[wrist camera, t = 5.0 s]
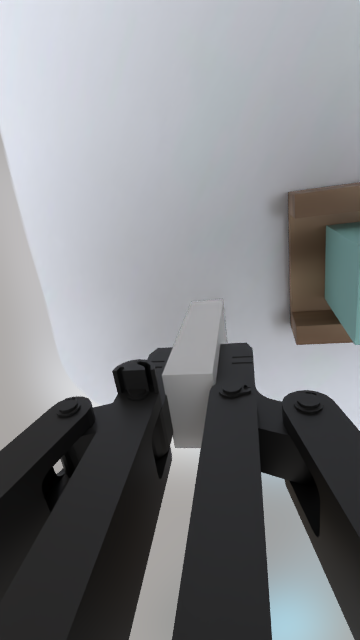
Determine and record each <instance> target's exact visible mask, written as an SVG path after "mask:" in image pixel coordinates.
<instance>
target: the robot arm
mask: <svg viewBox="0 0 360 640" xmlns="http://www.w3.org/2000/svg"><path fill="white" fill-rule="evenodd" d="M112 372H113V376H114V380H115V384H116V388H117V392H118V395H117V397H116V398H115V400H114V402H113V403H111V404H108V405H103V406H99V407H94V408H93V407H92V404H91V401H90V400H89V399H88V398H85V397H72V398H67V399H65V400H63V401H60V402H58V403H57V404H56V405H54V406H53V407H51V408H50V409H49V410H48V411H47V412H46V413H44V414H43V415H42V416H41V417H40V418H39V419H37V420H36V421H35V422H34V423H33V424H31V425H30V426H29V427H28V428H27V429H26V430H24V431H23V432H22V433H21V434H20V435H18V436H17V437H16V438H15V439H14V440H13V441H12V442H10V443H9V444H8V445H7V446H6V447H4V448H3V449H2V450H1V451H0V640H129V636H130V632H131V628H132V624H133V619H134V615H135V611H136V606H137V603H138V598H139V595H140V590H141V586H142V582H143V578H144V574H145V570H146V565H147V561H148V557H149V553H150V549H151V545H152V541H153V536H154V532H155V528H156V523H157V520H158V516H159V511H160V507H161V503H162V499H163V494H164V490H165V486H166V482H167V478H168V474H169V470H170V466H171V461H172V453H171V448H170V443H171V439H172V436H173V439H174V445H175V448H201V451H200V457H199V465H198V471H197V477H196V484H195V491H194V498H193V505H192V511H191V517H190V524H189V531H188V538H187V544H186V550H185V557H184V564H183V570H182V577H181V584H180V590H179V597H178V603H177V610H176V617H175V623H174V630H173V637H172V640H272V633H271V617H270V602H269V588H268V573H267V557H266V542H265V526H264V511H263V497H262V481H261V472H263V473H266V474H270V475H273V476H276V477H279V478H283V479H285V484H286V487H287V489H288V491H289V493H290V496H291V498H292V500H293V502H294V504H295V507H296V509H297V511H298V514H299V516H300V518H301V520H302V523H303V525H304V527H305V529H306V531H307V534H308V536H309V538H310V540H311V543H312V545H313V547H314V549H315V552H316V554H317V556H318V558H319V561H320V563H321V565H322V567H323V570H324V572H325V574H326V576H327V578H328V581H329V583H330V585H331V588H332V590H333V592H334V594H335V597H336V599H337V601H338V603H339V605H340V607H341V610H342V612H343V614H344V617H345V619H346V621H347V623H348V626H349V628H350V630H351V632H352V635H353V637H354V639H355V640H360V431H359V430H358V429H357V427H356V426H355V425H354V424H353V423H352V422H351V420H350V419H349V418H348V417H347V416H346V415H345V413H344V412H343V411H342V410H341V409H340V408H339V406H338V405H337V404H336V403H335V402H334V401H333V400H332V399H331V398H329V397H328V396H327V395H324V394H322V393H319V392H315V391H309V390H303V391H296V392H292V393H290V394H288V395H287V396H285V397H284V399H283V401H282V402H281V401H276V400H272V399H269V398H267V397H264V396H263V395H261V394H260V393H259V392H258V391H257V390H256V387H255V378H254V364H253V350H252V348H251V347H250V346H249V345H248V344H247V343H231V344H227V334H226V323H225V313H224V303H223V299H215V300H203V301H191V304H190V306H189V309H188V311H187V314H186V316H185V319H184V321H183V324H182V326H181V329H180V331H179V334H178V336H177V339H176V341H175V344H174V346H173V347H171V348H158V349H156V350H155V351H154V352H152V353H151V354H150V355H149V357H148V359H147V360H141V359H139V360H131V361H128V362H125V363H123V364H121V365H119V366H117V367H116V368H115V369H114V370H113V371H112ZM59 459H61V462H62V464H63V467H64V468H63V469H62V470H61V471H60V472H59V473H57V474H56V473H55V471H54V468H53V466H54V465H55V464H56V462H58V460H59Z"/></svg>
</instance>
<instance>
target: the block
mask: <svg viewBox="0 0 360 640" xmlns="http://www.w3.org/2000/svg"><path fill="white" fill-rule="evenodd" d="M325 300H326V301H327V303H328V305H329V306H330V308H331V309H332V311H333V312H334V314H335V315H336V317H337V318H338V320H339V321H340V323H341V324H342V326H343V327H344V329H345V331H346V332H347V334H348V335H349V337H350V338H351V340H352V341H353V343H354V344H355V345H360V222H353V223H344V224H336V225H327V226H326V252H325Z"/></svg>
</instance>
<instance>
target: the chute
mask: <svg viewBox="0 0 360 640" xmlns="http://www.w3.org/2000/svg"><path fill="white" fill-rule="evenodd" d="M288 221H289V271H290V321H291V328H292V331H293V335H294V338H295V341H296V344H297V345H303V344H327V343H350V342H353V341H352V340H351V338H350V337H349V335H348V334H347V332H346V331H345V329H344V327H343V326H342V324H341V323H340V321H339V320H338V318H337V317H336V315H335V314H334V312H333V311H332V309H331V308H330V306H329V305H328V303H327V301H326V300H325V252H326V226H327V225H336V224H344V223H353V222H360V182H358V183H351V184H344V185H336V186H329V187H322V188H314V189H307V190H300V191H293V192H288Z"/></svg>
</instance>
